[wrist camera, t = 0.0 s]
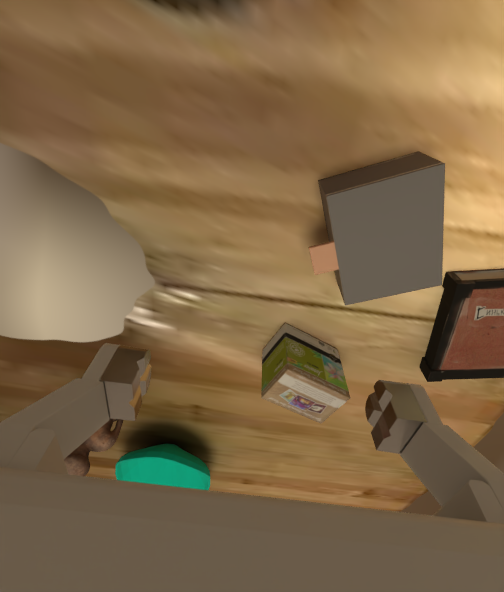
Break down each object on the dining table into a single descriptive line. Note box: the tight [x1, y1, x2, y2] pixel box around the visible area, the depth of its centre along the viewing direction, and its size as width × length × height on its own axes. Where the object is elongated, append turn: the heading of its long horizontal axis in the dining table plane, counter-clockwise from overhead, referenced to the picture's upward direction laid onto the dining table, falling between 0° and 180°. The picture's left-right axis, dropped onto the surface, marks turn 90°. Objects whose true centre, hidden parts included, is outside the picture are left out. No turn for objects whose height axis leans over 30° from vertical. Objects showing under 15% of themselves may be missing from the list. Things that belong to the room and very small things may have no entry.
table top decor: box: [115, 444, 210, 490], centre depth 96 cm, size 40×28×13 cm
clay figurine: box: [64, 418, 123, 476], centre depth 73 cm, size 13×10×25 cm
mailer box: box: [318, 152, 442, 300], centre depth 54 cm, size 20×16×8 cm
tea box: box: [262, 323, 350, 423], centre depth 69 cm, size 15×10×15 cm
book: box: [420, 269, 504, 382], centre depth 67 cm, size 26×18×5 cm
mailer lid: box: [309, 162, 445, 305], centre depth 51 cm, size 20×20×1 cm
